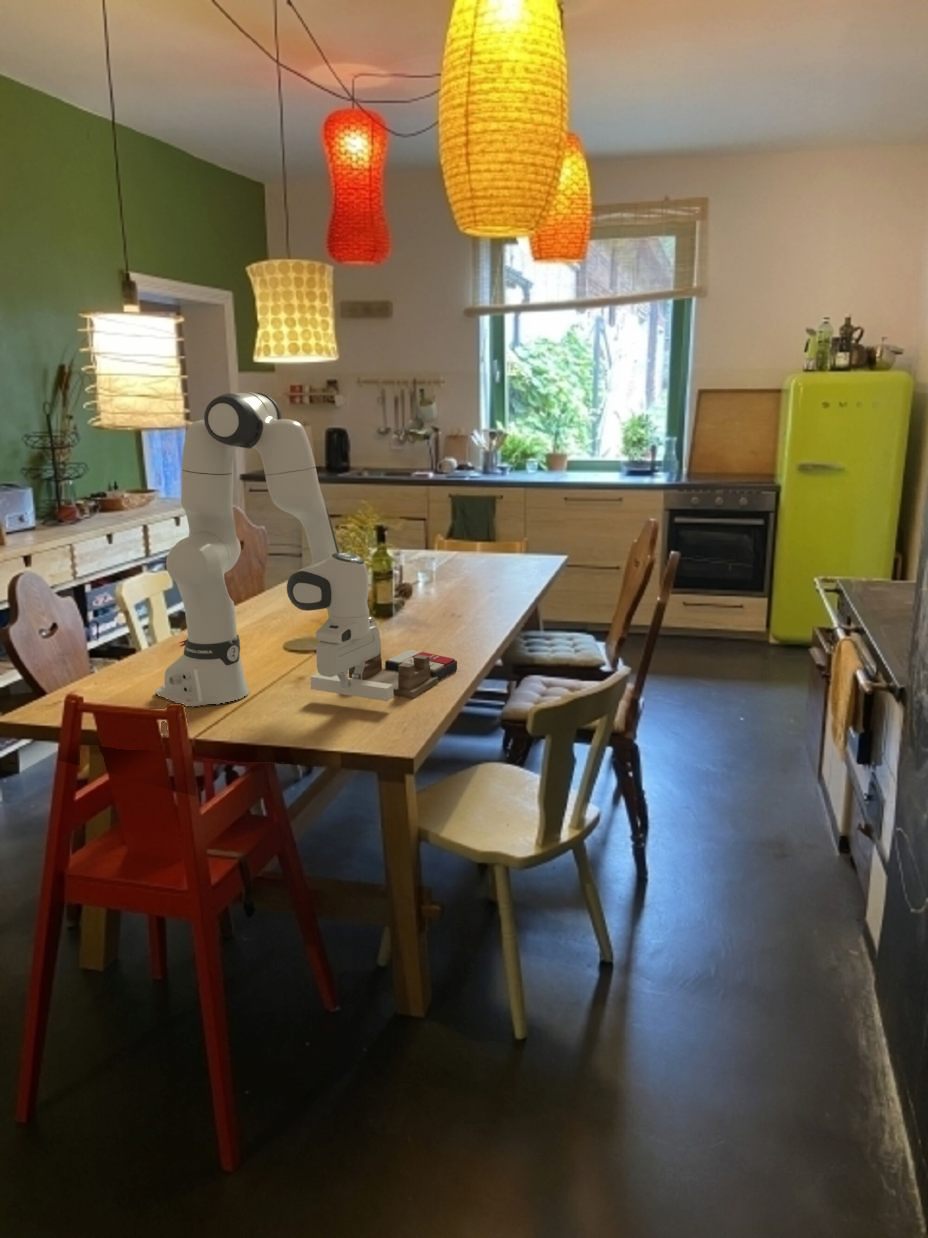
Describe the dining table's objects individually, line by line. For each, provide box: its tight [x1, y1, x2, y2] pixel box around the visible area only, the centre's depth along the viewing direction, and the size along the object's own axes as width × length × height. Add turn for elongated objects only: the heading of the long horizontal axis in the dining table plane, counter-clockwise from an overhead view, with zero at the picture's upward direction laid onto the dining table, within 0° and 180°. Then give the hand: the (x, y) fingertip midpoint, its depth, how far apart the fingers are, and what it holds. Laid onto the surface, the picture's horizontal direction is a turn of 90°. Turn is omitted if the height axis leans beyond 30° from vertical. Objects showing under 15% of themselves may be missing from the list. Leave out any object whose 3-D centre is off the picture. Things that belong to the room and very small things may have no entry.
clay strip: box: [310, 672, 395, 702], centre depth 201 cm, size 20×3×3 cm, turn 66°
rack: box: [347, 650, 439, 699], centre depth 214 cm, size 20×12×7 cm, turn 62°
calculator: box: [384, 649, 458, 682], centre depth 224 cm, size 11×4×15 cm
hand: (351, 684), depth 201 cm, fingers closed on clay strip, 3 cm apart
